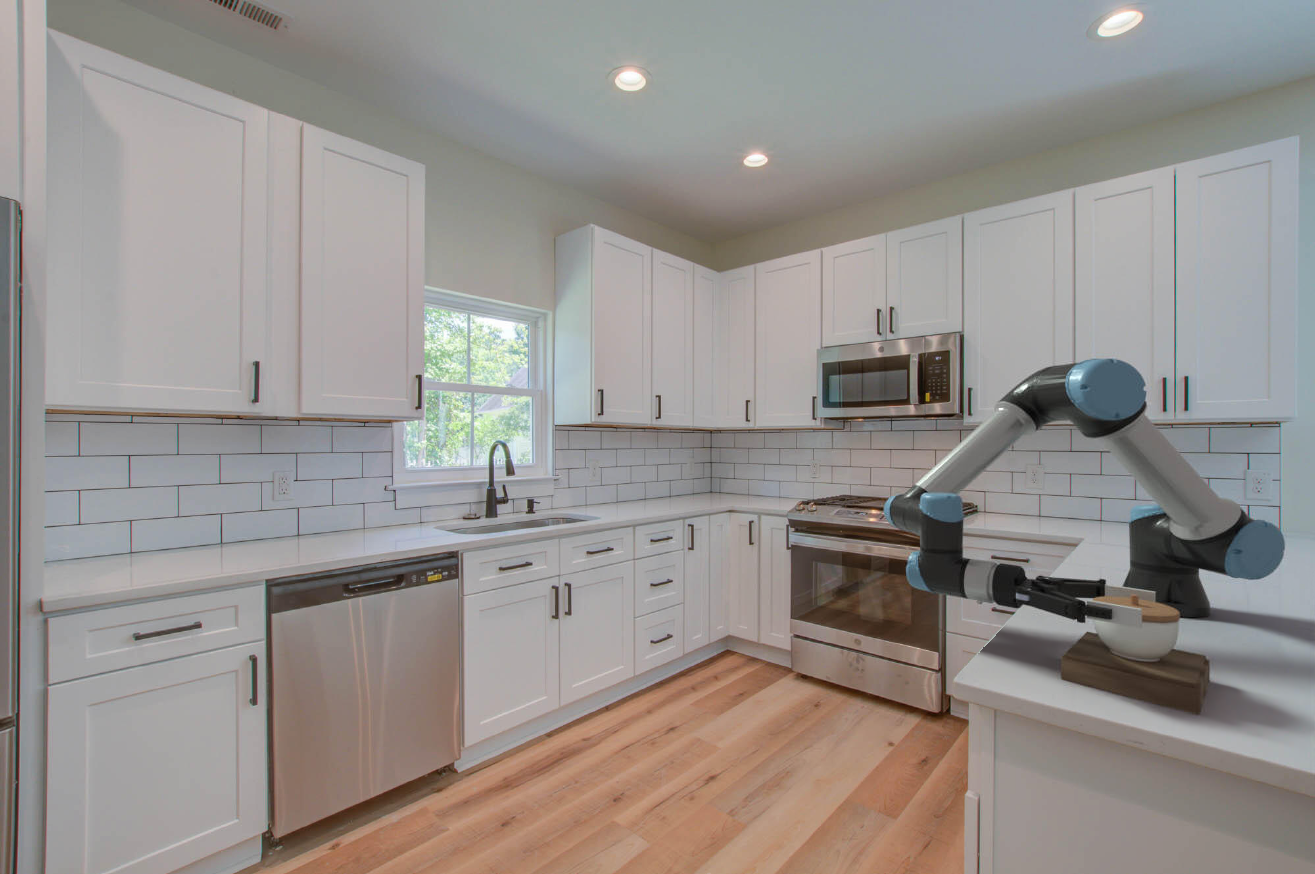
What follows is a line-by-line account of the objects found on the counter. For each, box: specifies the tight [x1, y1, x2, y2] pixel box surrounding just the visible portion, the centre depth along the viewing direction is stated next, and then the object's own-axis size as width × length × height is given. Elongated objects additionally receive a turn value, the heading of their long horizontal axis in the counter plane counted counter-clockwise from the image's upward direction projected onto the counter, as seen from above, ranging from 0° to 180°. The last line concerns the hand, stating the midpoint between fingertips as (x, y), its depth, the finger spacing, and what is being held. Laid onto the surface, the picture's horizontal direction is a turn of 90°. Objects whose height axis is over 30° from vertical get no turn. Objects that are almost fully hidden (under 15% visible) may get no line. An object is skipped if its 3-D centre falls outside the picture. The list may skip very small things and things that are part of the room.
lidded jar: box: [1091, 594, 1181, 662], centre depth 91 cm, size 11×11×9 cm
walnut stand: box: [1060, 631, 1211, 715], centre depth 91 cm, size 16×16×4 cm
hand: (1149, 608), depth 90 cm, fingers open, 13 cm apart
